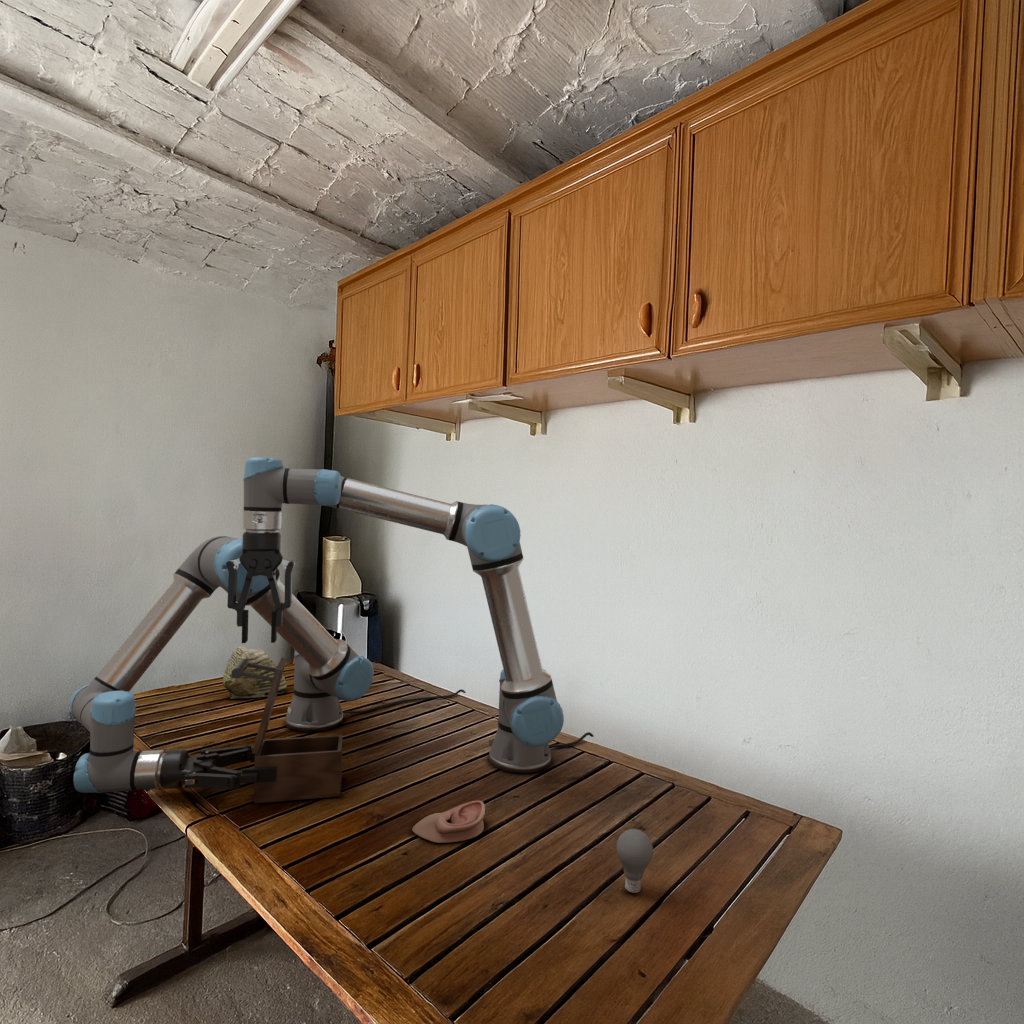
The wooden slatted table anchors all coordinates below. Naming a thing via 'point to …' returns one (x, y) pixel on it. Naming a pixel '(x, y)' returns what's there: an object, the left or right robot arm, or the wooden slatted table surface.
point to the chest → (300, 768)
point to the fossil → (248, 685)
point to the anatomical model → (453, 823)
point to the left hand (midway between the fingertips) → (279, 763)
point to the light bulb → (634, 857)
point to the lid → (239, 672)
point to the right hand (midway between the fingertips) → (259, 641)
